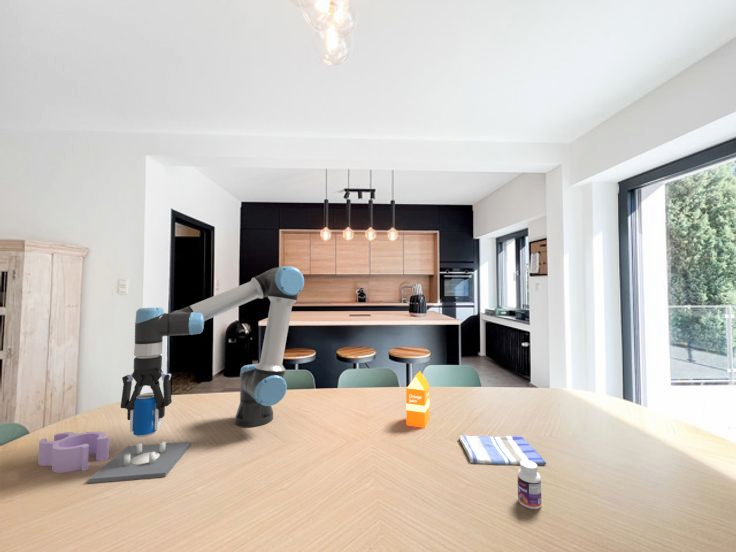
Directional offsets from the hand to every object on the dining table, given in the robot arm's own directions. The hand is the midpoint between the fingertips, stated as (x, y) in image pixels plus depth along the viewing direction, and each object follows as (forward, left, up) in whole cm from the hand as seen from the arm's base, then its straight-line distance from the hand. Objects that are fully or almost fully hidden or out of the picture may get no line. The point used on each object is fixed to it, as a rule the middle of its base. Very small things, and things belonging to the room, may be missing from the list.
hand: (145, 429), depth 104 cm
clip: (+23, -5, -11) cm, 26 cm away
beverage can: (0, 0, -2) cm, 2 cm away
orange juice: (-95, -16, -11) cm, 97 cm away
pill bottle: (-107, +38, -11) cm, 114 cm away
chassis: (0, 0, -10) cm, 10 cm away
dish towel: (-114, +12, -11) cm, 115 cm away
